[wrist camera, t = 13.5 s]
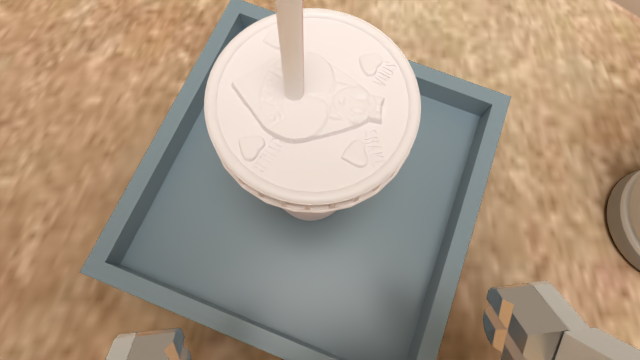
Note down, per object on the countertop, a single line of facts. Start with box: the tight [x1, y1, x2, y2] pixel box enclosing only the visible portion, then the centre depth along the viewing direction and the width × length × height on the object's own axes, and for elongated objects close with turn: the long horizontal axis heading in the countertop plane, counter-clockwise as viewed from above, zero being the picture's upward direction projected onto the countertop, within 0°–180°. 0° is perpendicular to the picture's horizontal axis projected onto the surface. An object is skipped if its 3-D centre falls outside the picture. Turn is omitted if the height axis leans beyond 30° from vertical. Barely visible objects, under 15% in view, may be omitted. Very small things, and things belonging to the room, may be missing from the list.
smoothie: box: [204, 0, 421, 221], centre depth 14 cm, size 6×6×14 cm
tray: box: [80, 0, 511, 360], centre depth 20 cm, size 16×16×2 cm
